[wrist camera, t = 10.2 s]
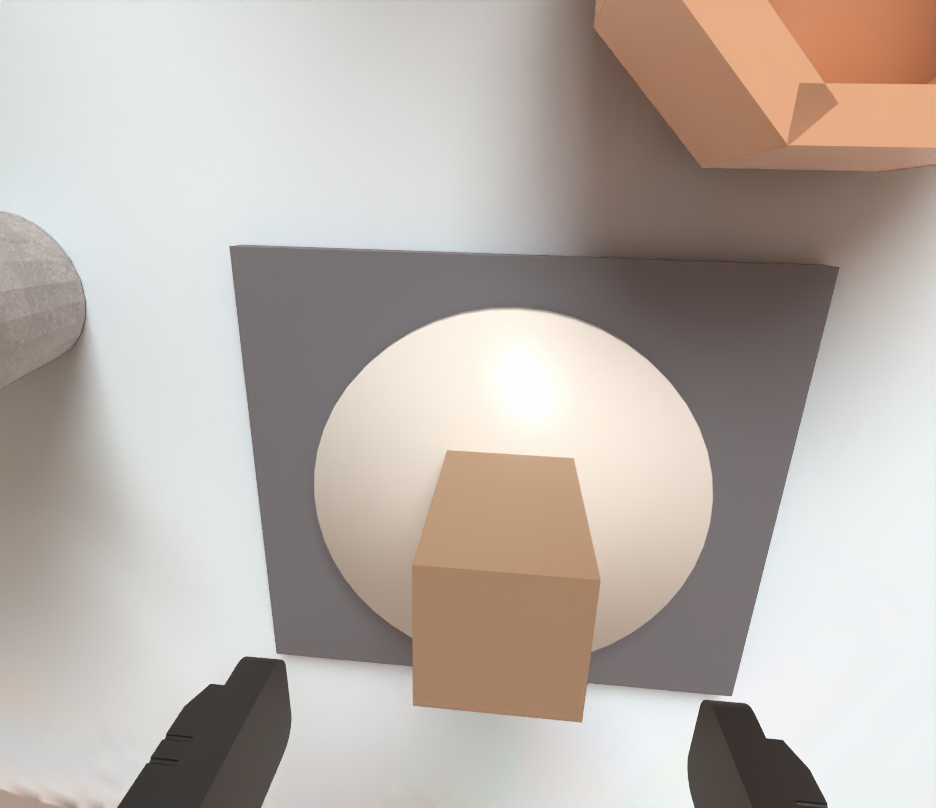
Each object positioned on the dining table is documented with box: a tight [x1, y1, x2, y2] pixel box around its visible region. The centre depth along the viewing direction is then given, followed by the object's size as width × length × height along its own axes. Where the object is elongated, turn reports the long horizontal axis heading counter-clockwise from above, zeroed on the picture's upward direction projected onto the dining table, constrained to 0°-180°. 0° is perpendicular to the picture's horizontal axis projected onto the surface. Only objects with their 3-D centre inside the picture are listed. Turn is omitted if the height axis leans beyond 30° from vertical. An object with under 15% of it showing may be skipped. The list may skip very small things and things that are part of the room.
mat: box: [230, 245, 839, 696], centre depth 19 cm, size 18×16×1 cm
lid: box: [314, 307, 713, 722], centre depth 15 cm, size 13×13×7 cm
